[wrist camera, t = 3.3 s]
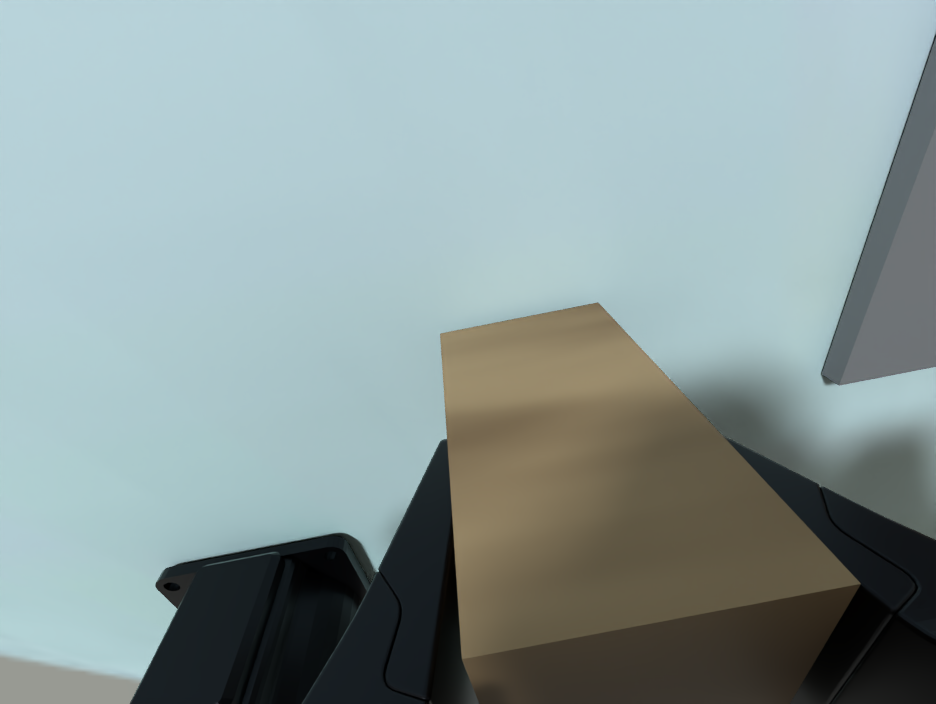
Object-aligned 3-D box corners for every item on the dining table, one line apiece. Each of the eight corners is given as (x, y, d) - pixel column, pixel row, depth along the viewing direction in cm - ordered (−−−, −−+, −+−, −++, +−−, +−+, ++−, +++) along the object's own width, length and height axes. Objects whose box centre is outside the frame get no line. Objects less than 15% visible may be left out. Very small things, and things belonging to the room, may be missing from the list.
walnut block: (599, 423, 12) (773, 731, 6) (467, 449, 12) (509, 781, 6) (598, 302, 10) (860, 582, 4) (440, 333, 10) (461, 658, 4)
